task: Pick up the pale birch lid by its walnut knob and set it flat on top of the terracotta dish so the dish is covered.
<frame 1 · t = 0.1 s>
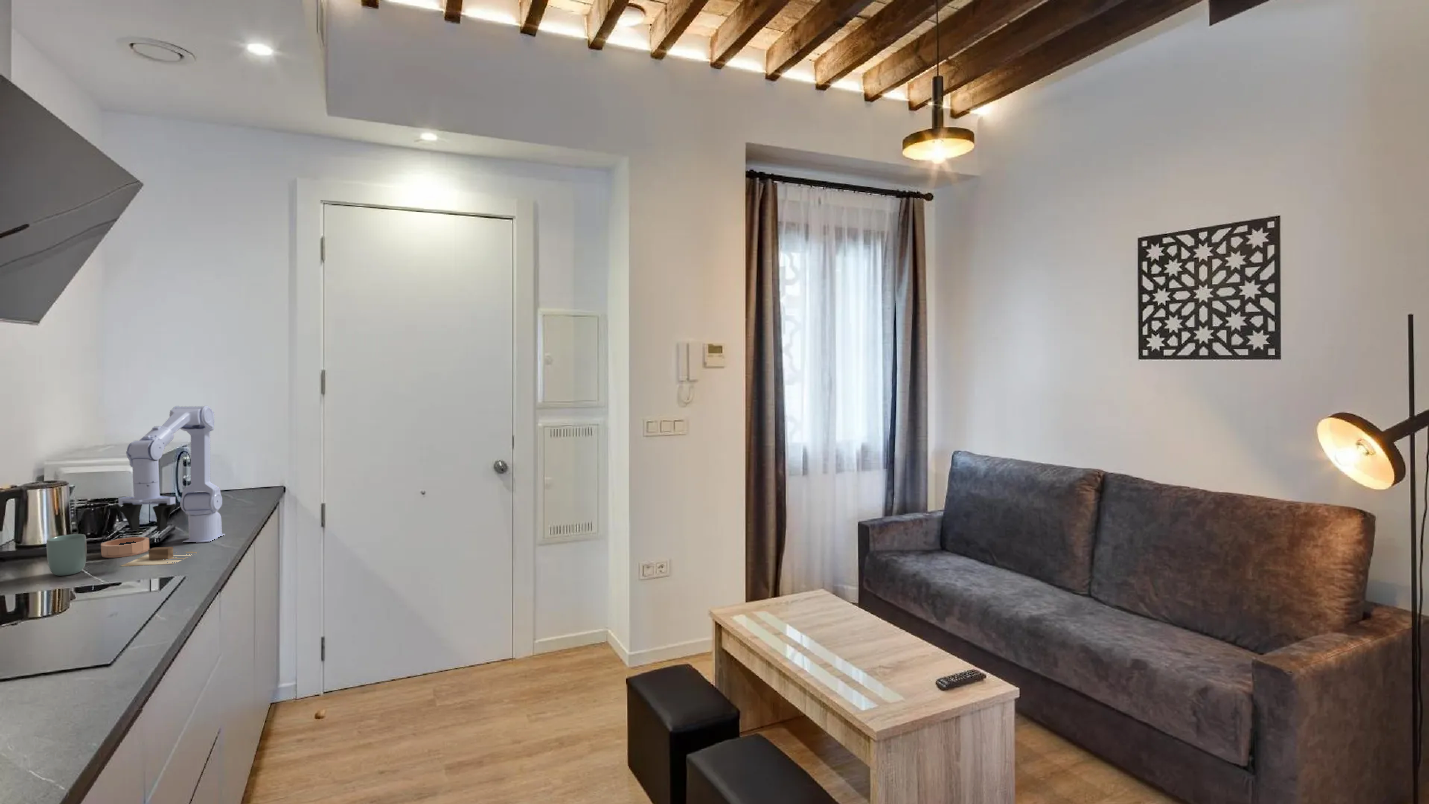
hand: (148, 529, 197), 10 cm above the worktop, tool pointing down, fingers open, 7 cm apart
dish: (125, 552, 209), on the worktop
lid: (161, 561, 202), on the worktop
cup: (68, 574, 188), on the worktop
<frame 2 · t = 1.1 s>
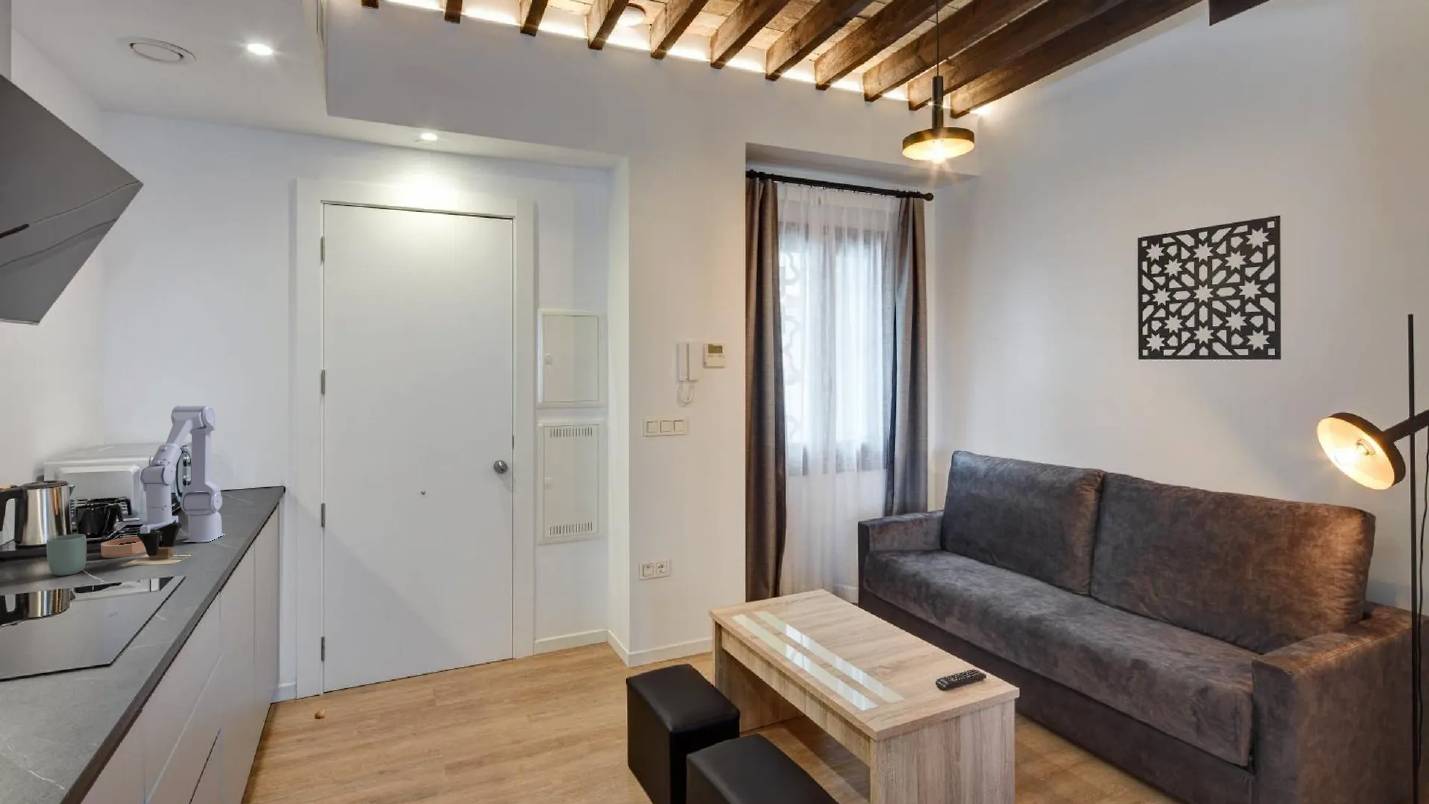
hand: (160, 552, 202), 2 cm above the worktop, tool pointing down, fingers open, 7 cm apart
nothing on the worktop moved.
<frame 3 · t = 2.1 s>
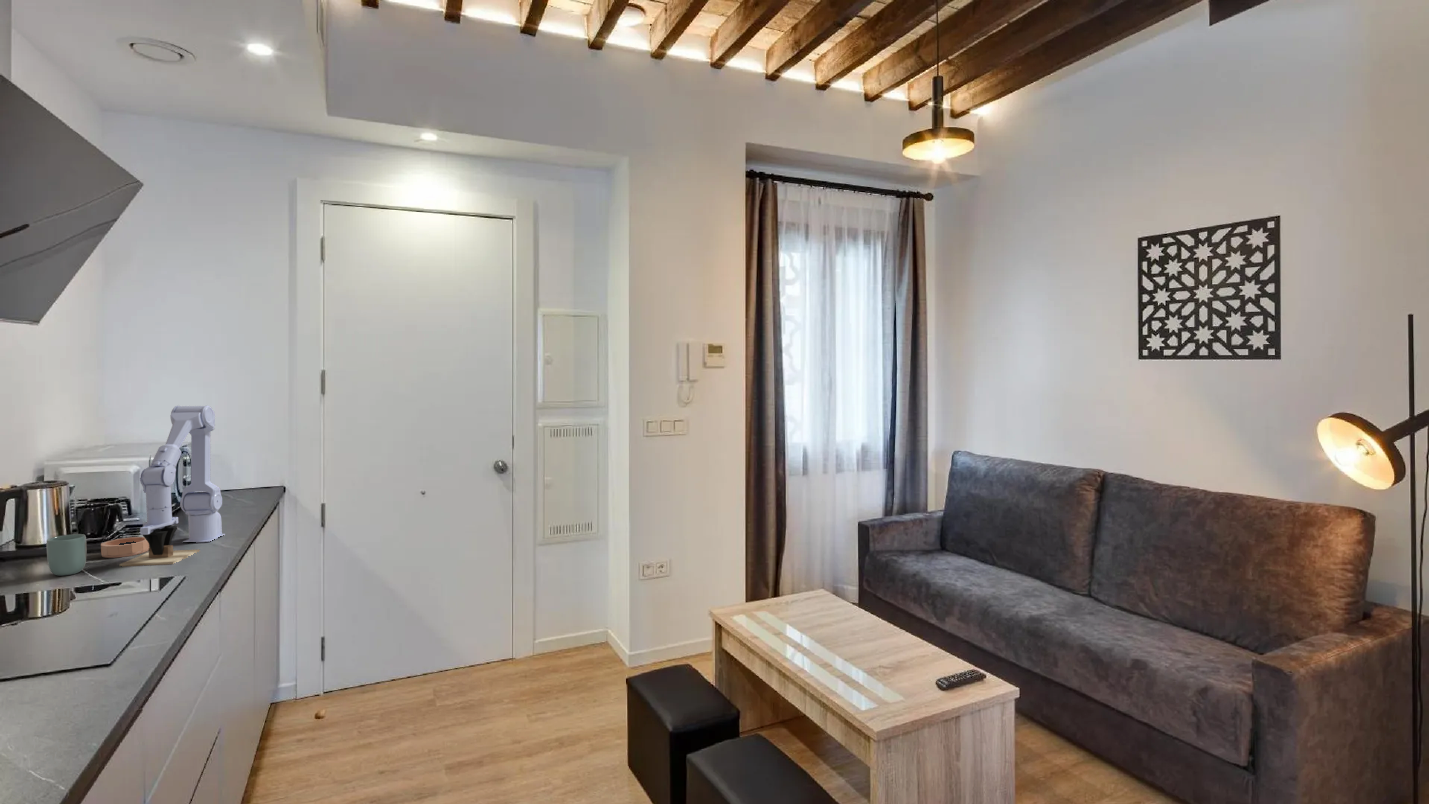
hand: (161, 553, 202), 2 cm above the worktop, tool pointing down, fingers closed on lid, 2 cm apart
lid: (161, 559, 202), on the worktop, touching gripper
everything else where it was.
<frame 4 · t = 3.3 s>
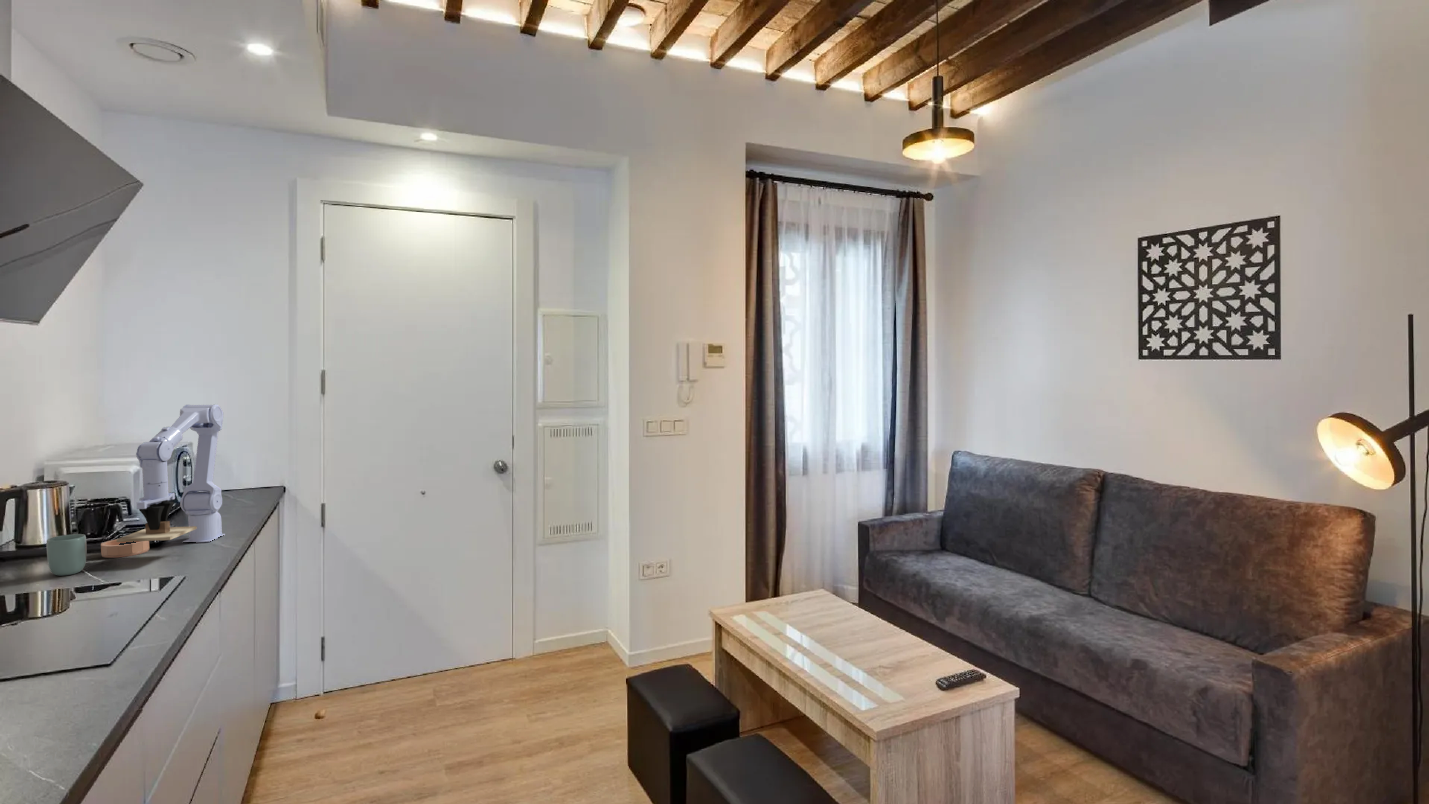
hand: (157, 528, 202), 9 cm above the worktop, tool pointing down, fingers closed on lid, 2 cm apart
lid: (158, 535, 202), point 7 cm above the worktop, touching gripper
everything else where it was.
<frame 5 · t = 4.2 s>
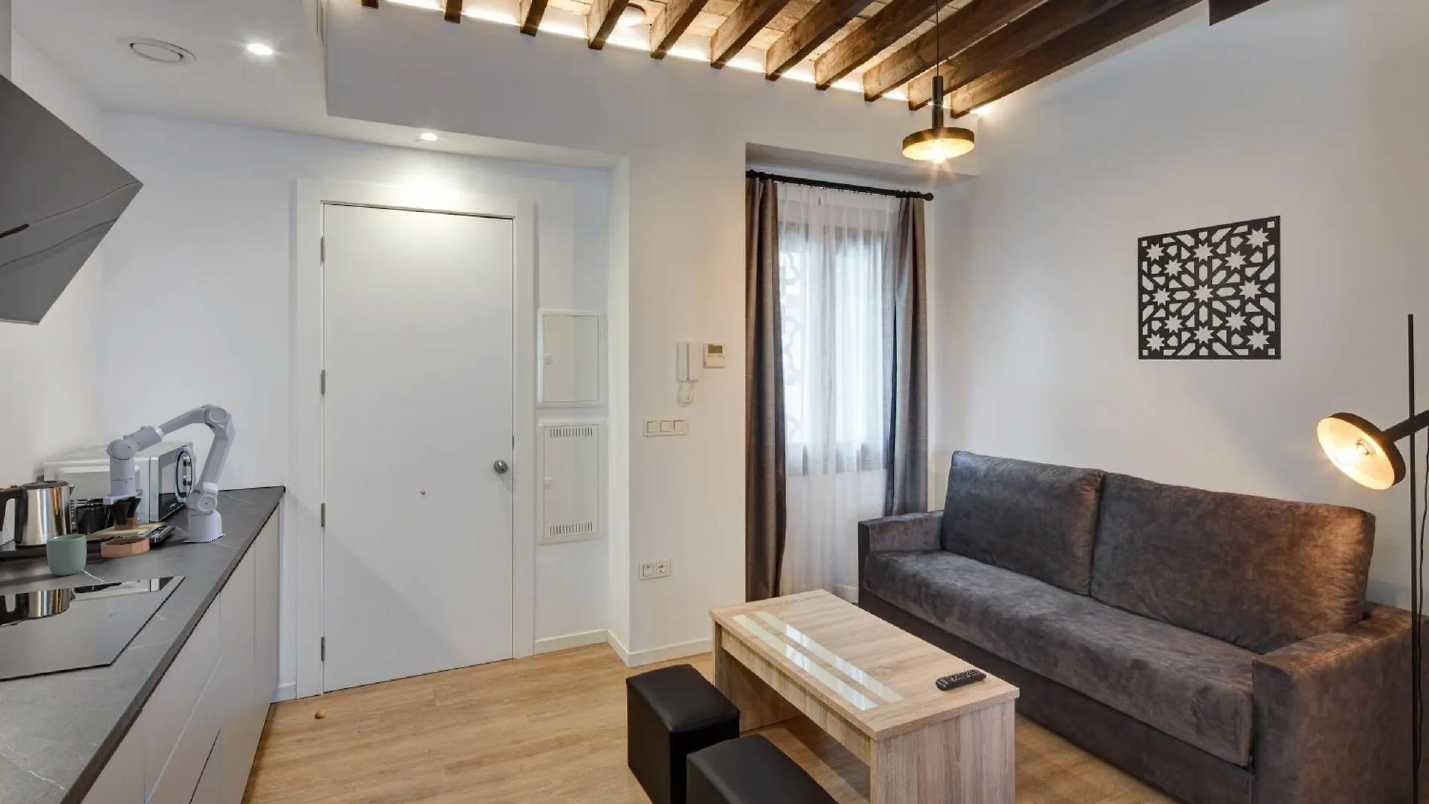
hand: (124, 523, 208), 9 cm above the worktop, tool pointing down, fingers closed on lid, 2 cm apart
lid: (126, 531, 208), point 7 cm above the worktop, touching gripper
everything else where it was.
when the fingers open (6 cm above the worktop, at t = 5.0 s): lid stays where it is, resting on dish.
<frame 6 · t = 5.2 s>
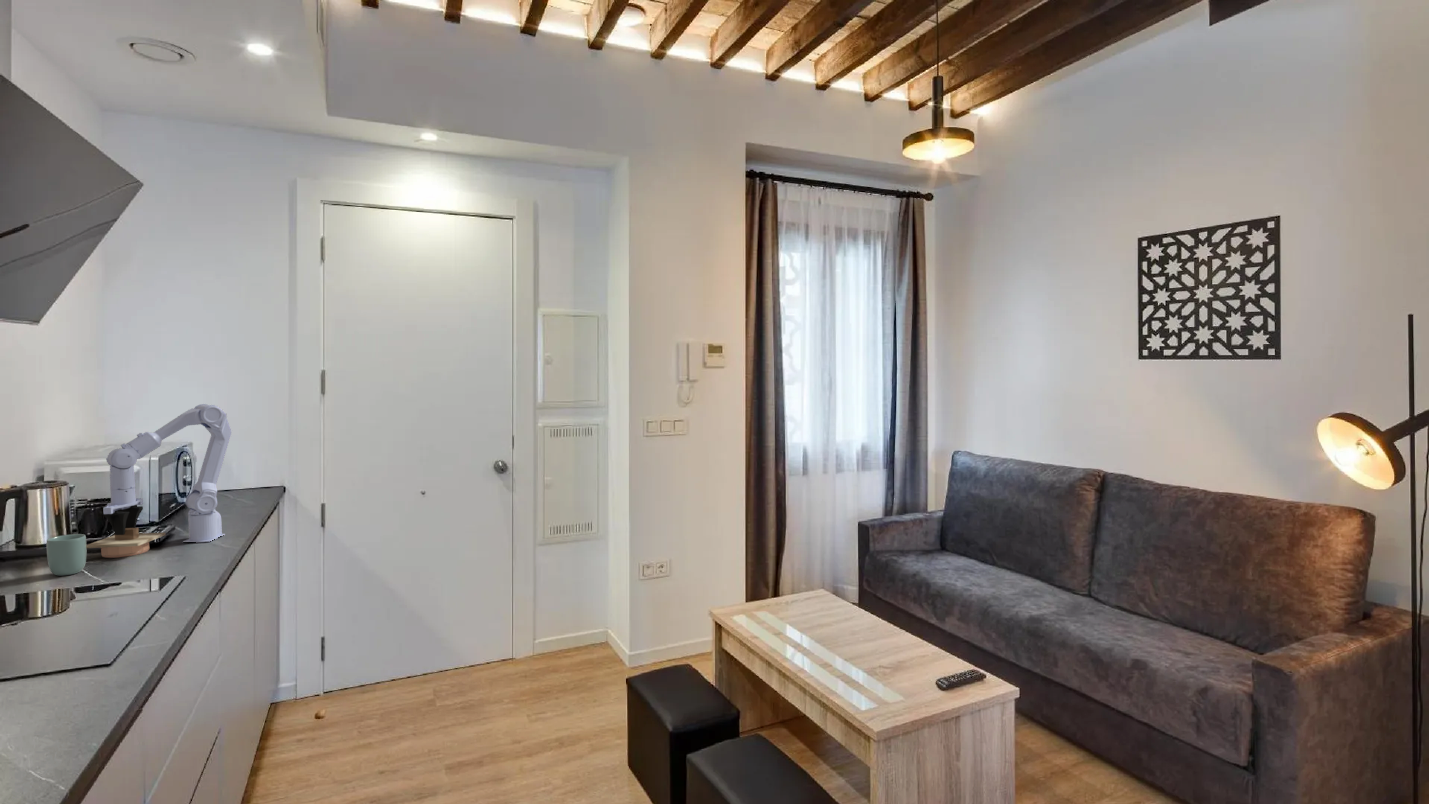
hand: (125, 532, 208), 6 cm above the worktop, tool pointing down, fingers open, 4 cm apart
lid: (127, 541, 208), point 3 cm above the worktop, touching dish
everything else where it was.
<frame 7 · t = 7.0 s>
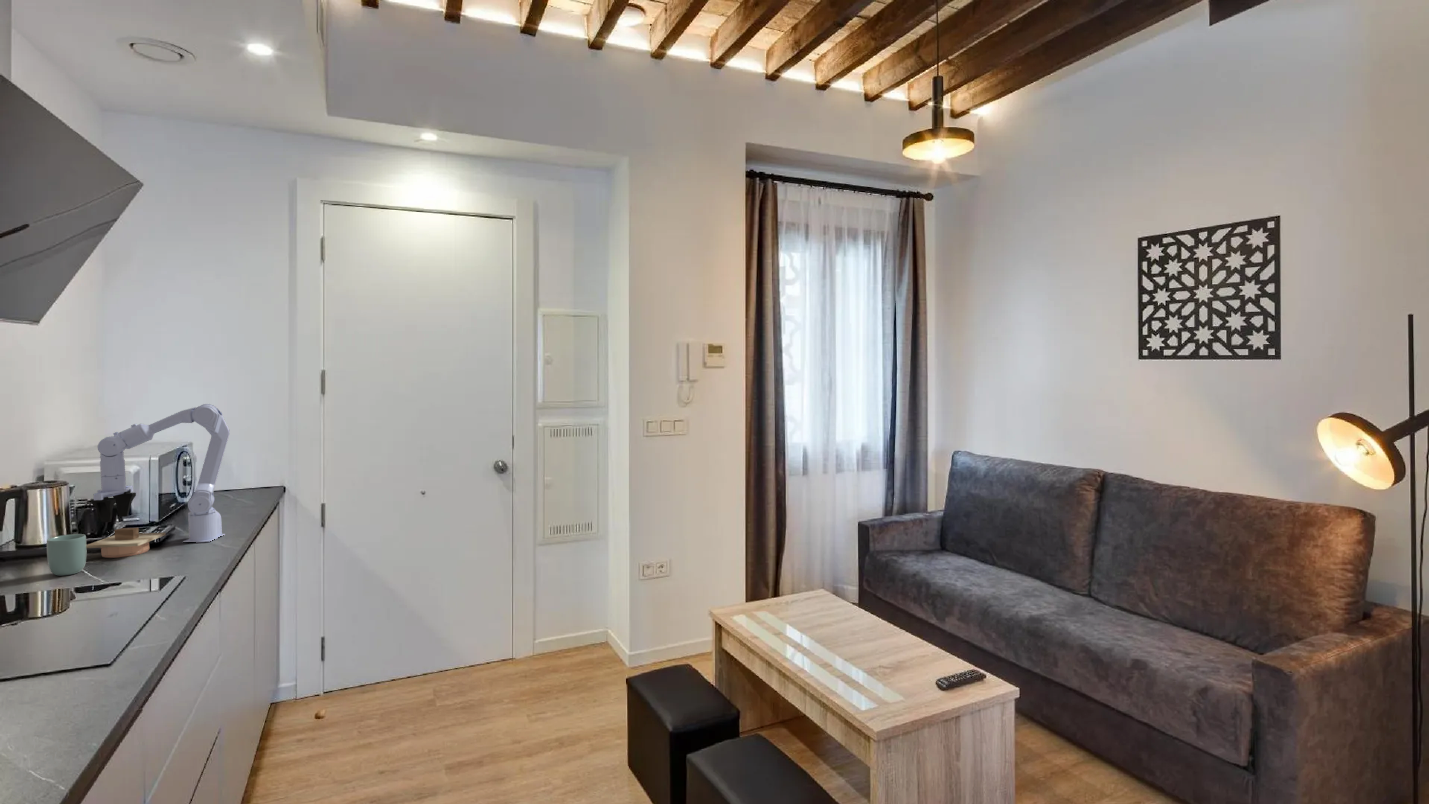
hand: (115, 519, 212), 9 cm above the worktop, tool pointing down, fingers open, 7 cm apart
nothing on the worktop moved.
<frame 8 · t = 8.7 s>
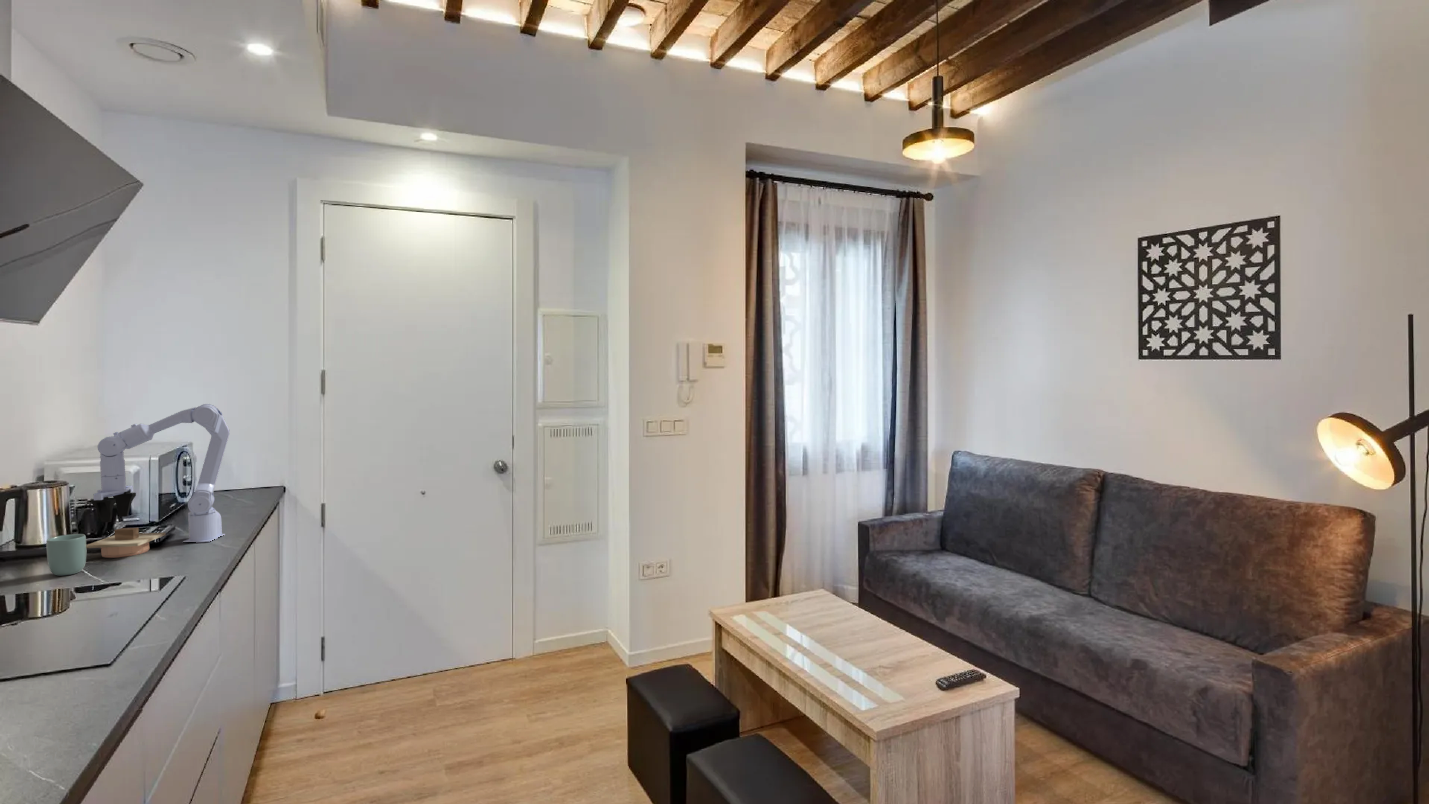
hand: (115, 519, 212), 9 cm above the worktop, tool pointing down, fingers open, 7 cm apart
nothing on the worktop moved.
at the end: lid 0.4 cm from the dish (horizontally); lid point 3.5 cm above the worktop; lid tilted 0° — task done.
